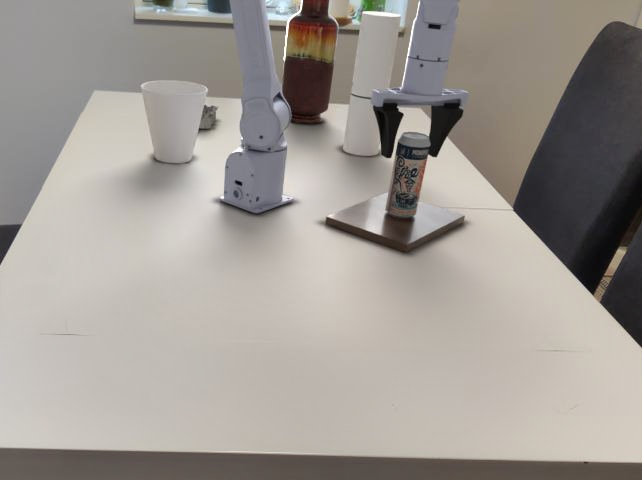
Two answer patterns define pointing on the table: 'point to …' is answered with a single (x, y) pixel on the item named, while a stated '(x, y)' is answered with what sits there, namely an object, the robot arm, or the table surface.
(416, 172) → the beer can
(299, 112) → the vase
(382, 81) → the cylindrical container
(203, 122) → the egg carton
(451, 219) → the serving board
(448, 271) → the table surface
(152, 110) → the cup
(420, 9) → the robot arm
